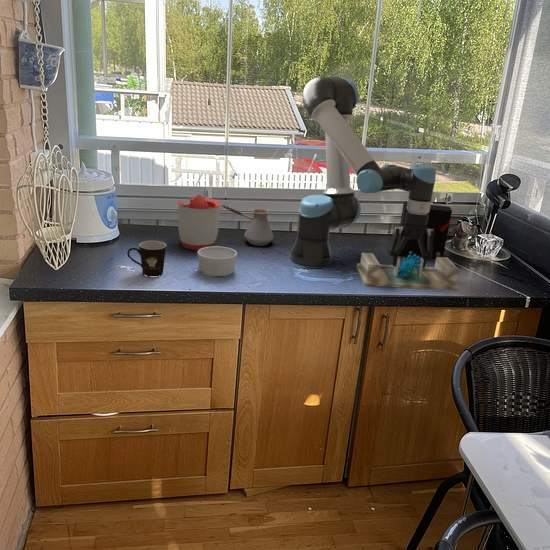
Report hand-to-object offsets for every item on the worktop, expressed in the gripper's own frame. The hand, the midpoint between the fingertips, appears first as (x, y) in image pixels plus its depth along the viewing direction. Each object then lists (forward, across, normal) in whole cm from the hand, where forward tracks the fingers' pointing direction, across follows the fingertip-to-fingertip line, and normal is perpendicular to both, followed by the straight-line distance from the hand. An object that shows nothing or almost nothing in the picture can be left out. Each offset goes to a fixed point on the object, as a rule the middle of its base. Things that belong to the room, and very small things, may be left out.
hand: (406, 275), depth 198 cm
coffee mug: (+2, -88, -6) cm, 88 cm away
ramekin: (+2, -66, -1) cm, 66 cm away
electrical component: (+2, +13, +29) cm, 32 cm away
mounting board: (+2, 0, +1) cm, 2 cm away
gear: (+1, 0, 0) cm, 1 cm away
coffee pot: (+2, -56, +32) cm, 65 cm away
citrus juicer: (+2, -75, +25) cm, 79 cm away
